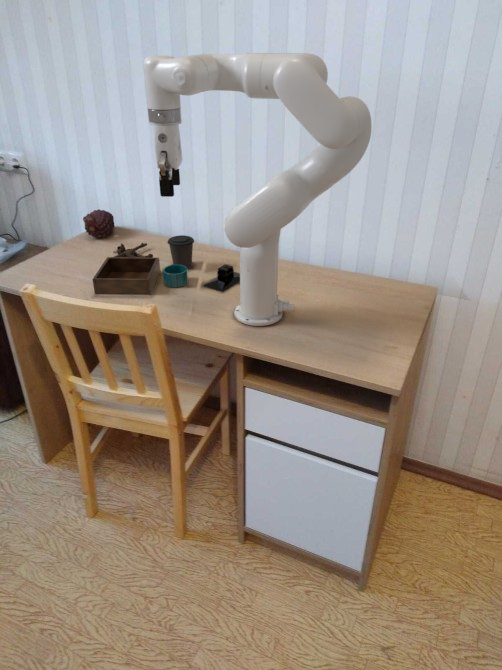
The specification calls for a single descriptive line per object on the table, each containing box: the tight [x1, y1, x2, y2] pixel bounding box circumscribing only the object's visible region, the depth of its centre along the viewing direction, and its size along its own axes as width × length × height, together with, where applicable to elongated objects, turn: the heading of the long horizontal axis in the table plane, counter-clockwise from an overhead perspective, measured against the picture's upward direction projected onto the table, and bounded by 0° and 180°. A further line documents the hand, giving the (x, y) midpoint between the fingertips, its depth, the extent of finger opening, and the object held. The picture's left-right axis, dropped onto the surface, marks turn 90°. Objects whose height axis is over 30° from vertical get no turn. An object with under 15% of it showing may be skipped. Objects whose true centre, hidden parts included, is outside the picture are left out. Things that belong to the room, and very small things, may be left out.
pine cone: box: [82, 209, 116, 239], centre depth 188 cm, size 18×10×10 cm
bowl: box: [162, 264, 189, 289], centre depth 154 cm, size 7×7×5 cm
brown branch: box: [112, 242, 154, 258], centre depth 171 cm, size 18×4×14 cm
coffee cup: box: [166, 234, 195, 270], centre depth 163 cm, size 8×8×10 cm
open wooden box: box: [92, 256, 161, 296], centre depth 154 cm, size 16×16×5 cm
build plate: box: [203, 263, 240, 293], centre depth 156 cm, size 12×7×5 cm, turn 145°
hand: (170, 190), depth 131 cm, fingers open, 9 cm apart
